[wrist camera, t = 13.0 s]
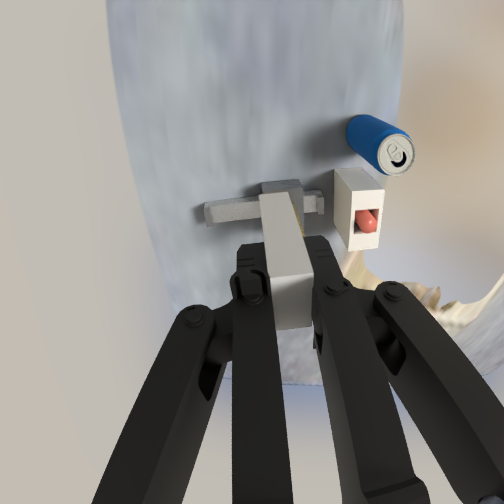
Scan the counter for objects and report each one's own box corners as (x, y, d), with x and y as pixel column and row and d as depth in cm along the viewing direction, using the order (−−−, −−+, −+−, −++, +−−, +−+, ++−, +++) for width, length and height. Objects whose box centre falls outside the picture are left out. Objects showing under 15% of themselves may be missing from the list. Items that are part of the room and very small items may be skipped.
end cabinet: (334, 169, 45) (352, 191, 38) (362, 167, 45) (384, 189, 38) (333, 222, 51) (348, 251, 43) (359, 219, 51) (377, 247, 43)
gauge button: (344, 194, 45) (361, 218, 39) (359, 193, 45) (378, 217, 39) (344, 208, 47) (360, 234, 40) (358, 207, 47) (376, 232, 40)
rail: (205, 202, 48) (203, 210, 46) (319, 189, 47) (324, 197, 45) (208, 217, 50) (206, 226, 47) (319, 205, 49) (324, 214, 46)
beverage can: (359, 159, 44) (390, 188, 34) (336, 129, 41) (365, 150, 31) (387, 136, 42) (425, 160, 32) (366, 105, 39) (403, 120, 29)
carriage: (261, 181, 46) (268, 230, 34) (298, 178, 46) (319, 225, 33) (265, 225, 51) (273, 283, 38) (300, 221, 50) (318, 277, 38)
